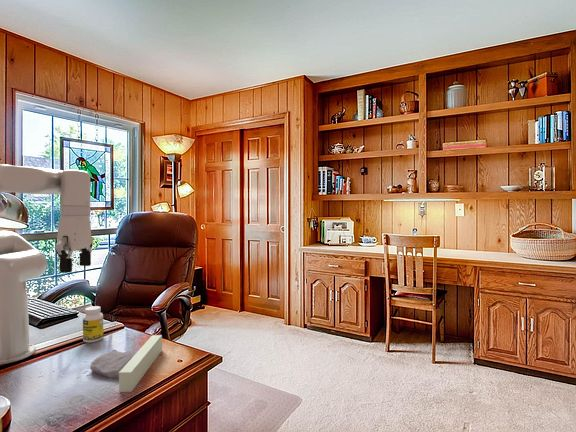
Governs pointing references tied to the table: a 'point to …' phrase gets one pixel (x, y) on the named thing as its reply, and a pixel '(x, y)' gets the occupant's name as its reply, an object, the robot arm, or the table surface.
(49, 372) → the table surface
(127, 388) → the board
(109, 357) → the grey rock
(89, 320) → the pill bottle
